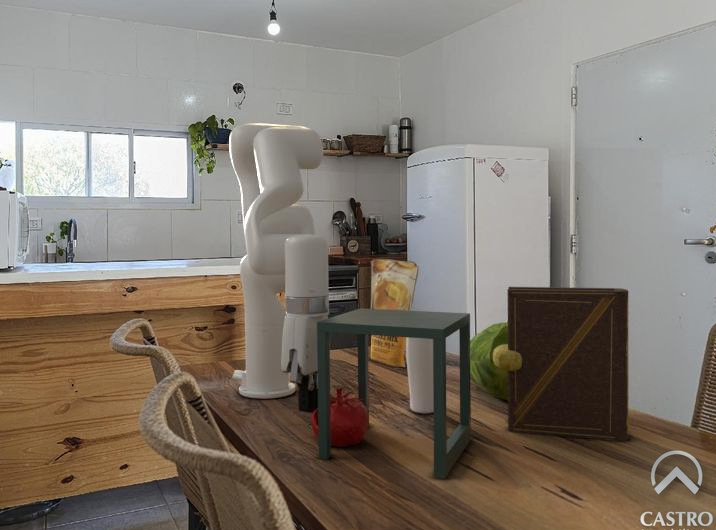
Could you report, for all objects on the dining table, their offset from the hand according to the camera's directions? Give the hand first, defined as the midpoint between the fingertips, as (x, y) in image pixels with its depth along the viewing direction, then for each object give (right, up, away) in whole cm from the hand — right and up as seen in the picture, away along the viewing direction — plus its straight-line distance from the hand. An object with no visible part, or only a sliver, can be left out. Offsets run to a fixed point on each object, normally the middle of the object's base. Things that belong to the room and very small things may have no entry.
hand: (308, 410), depth 104 cm
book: (+44, -4, +1) cm, 44 cm away
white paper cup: (+22, -4, +14) cm, 27 cm away
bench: (+15, -4, -7) cm, 17 cm away
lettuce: (+41, -3, +25) cm, 48 cm away
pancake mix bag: (+21, -3, +59) cm, 63 cm away
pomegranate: (+5, -5, -2) cm, 7 cm away
